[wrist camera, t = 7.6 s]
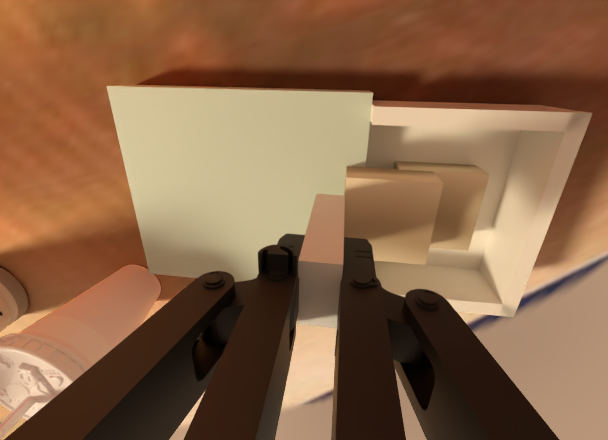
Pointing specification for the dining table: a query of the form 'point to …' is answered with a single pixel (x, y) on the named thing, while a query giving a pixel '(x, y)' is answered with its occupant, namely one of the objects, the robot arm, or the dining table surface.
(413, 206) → the tile front
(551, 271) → the dining table surface
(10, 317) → the travel mug
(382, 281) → the tray
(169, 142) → the board
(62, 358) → the smoothie
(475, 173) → the tile rear
